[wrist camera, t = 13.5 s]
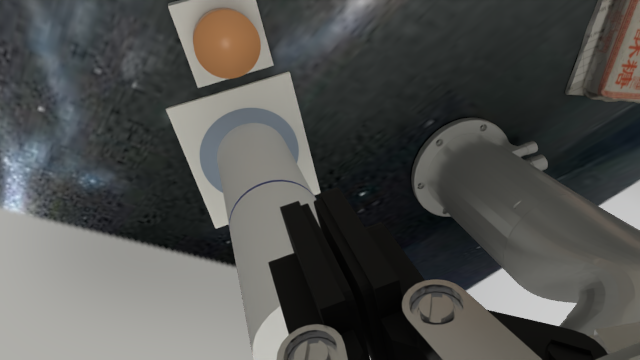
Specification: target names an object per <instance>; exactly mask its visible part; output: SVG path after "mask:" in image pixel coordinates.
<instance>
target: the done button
mask: <svg viewBox="0 0 640 360" xmlns="http://www.w3.org/2000/svg"><path fill="white" fill-rule="evenodd" d="M193 45H194V51H195V55H196V57H197V60H198V61H199V63H200V64H201V66H202V67H203V68H204V69H205V70H206V71H208V72H209V73H211V74H212V75H214V76H217V77H220V78H225V79H232V78H237V77H240V76H243V75H244V74H246V73H248V72H249V71H250V70H251V69H252V68H253V67H254V66H255V64H256V62H257V60H258V58H259V55H260V50H261V42H260V37H259V34H258V32H257V30H256V28H255V26H254V25H253V24H252V23H251V21H250V20H249V19H248V18H247V17H246V16H245V15H243V14H242V13H241V12H239V11H237V10H234V9H231V8H216V9H213V10H211V11H209V12H207V13H205V14H204V15H203V16H202V17H201V18H200V19H199V21H198V22H197V24H196V26H195V28H194V32H193Z"/></svg>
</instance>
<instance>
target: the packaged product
mask: <svg viewBox="0 0 640 360" xmlns="http://www.w3.org/2000/svg"><path fill="white" fill-rule="evenodd" d="M565 93H566V94H568V95H582V96H586V97H588V98H590V99H594V100H602V101H605V102H616V101H627V102H632V101H633V102H636V103H640V0H598V1H597V4H596V6H595V9H594V12H593V14H592V17H591V19H590V22H589V24H588V27H587V29H586V32H585V35H584V39H583V42H582V46H581V49H580V51H579V54H578V57H577V60H576V63H575V66H574V69H573V71H572V74H571V76H570V79H569V81H568V84H567V87H566V90H565Z"/></svg>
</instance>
